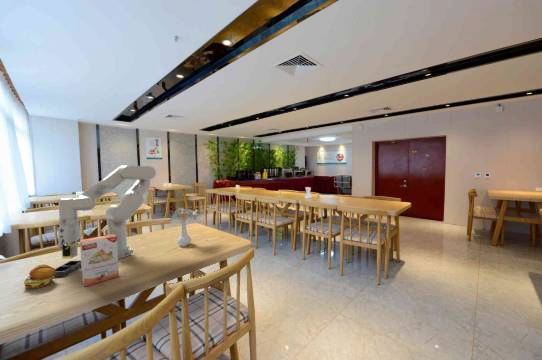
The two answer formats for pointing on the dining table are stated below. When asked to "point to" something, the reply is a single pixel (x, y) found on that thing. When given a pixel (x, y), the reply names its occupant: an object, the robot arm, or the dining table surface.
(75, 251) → the gold block
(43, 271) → the cheeseburger
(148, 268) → the dining table surface
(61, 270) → the tray
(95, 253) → the cracker box
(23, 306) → the dining table surface
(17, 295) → the dining table surface
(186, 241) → the flower vase
